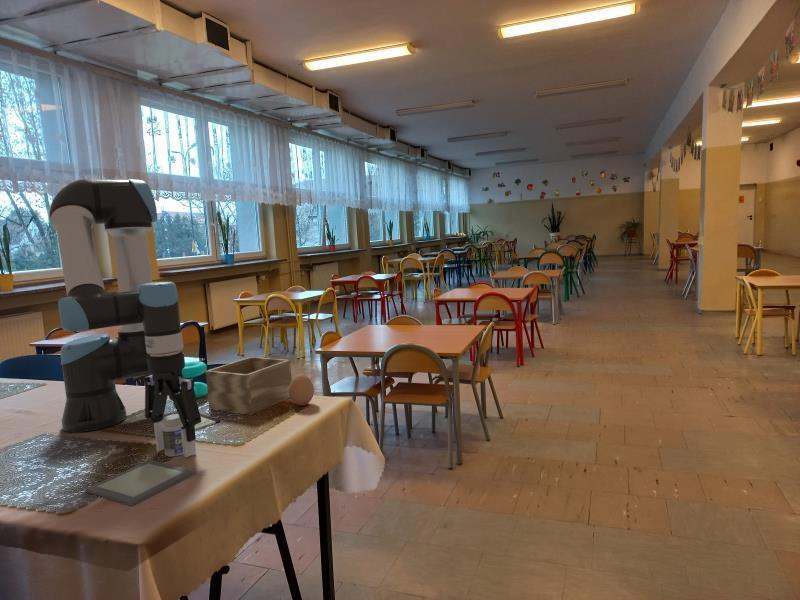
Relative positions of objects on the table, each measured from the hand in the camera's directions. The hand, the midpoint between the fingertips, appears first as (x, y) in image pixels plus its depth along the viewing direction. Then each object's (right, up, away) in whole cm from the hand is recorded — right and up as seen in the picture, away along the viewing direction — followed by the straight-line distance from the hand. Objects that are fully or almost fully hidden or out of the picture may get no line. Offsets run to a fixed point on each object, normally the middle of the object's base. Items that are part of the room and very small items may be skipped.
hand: (176, 451), depth 119 cm
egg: (+23, +4, +29) cm, 38 cm away
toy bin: (+8, +4, +34) cm, 36 cm away
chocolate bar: (-6, +1, +22) cm, 23 cm away
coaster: (-1, -2, -14) cm, 14 cm away
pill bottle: (0, 0, 0) cm, 1 cm away
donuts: (-14, +4, +45) cm, 47 cm away
